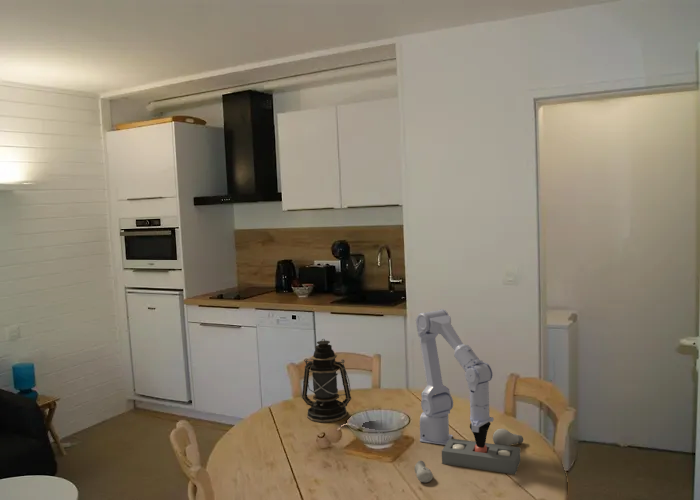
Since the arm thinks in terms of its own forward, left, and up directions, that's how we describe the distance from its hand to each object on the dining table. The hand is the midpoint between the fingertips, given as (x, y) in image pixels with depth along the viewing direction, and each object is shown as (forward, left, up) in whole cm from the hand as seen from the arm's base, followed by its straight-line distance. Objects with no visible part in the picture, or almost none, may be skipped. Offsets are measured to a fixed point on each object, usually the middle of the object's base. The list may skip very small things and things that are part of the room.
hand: (480, 446), depth 177 cm
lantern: (-64, +21, -5) cm, 68 cm away
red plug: (0, 0, -4) cm, 4 cm away
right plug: (+7, 0, -5) cm, 8 cm away
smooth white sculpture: (-13, -16, -5) cm, 21 cm away
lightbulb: (+10, +18, -4) cm, 21 cm away
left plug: (-7, 0, -5) cm, 8 cm away
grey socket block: (0, 0, -5) cm, 5 cm away
